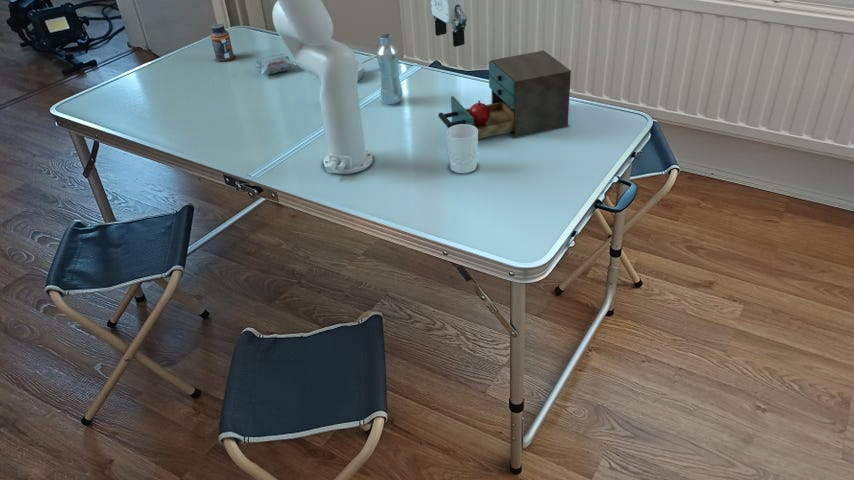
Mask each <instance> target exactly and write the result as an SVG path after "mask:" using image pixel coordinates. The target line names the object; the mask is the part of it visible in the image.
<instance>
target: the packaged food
mask: <svg viewBox="0 0 854 480" xmlns="http://www.w3.org/2000/svg"><path fill="white" fill-rule="evenodd" d="M296 66H298V64H297V63H296V62H295V61H293V60H291V59H290V57H289V56H288V55H286V54H284V53H276V54H271V55H267V56H263V57H261V58H258V59H257V60H256V62H255V65H254V69H257V68H258V70H260V71H261V72H260V75H261V76H262V75H267V76H270V75H275V74H279V73H283V72H287V71H289V70H292V69H293V68H295V67H296Z"/></svg>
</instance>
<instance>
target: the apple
mask: <svg viewBox="0 0 854 480" xmlns="http://www.w3.org/2000/svg"><path fill="white" fill-rule="evenodd" d="M486 105H487V104H485V103H483V102H481V100H480V99H478V102H476V103H474V104H472V105H471V107H469V108H470V110H469V114H470V115H471V116H472V117H473V118H474V125H476V126H483V125H485V123H486V122H487V121H488V119H489V117H490V110H489V108H488V107H487V106H486Z"/></svg>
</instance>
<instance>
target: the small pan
mask: <svg viewBox="0 0 854 480" xmlns="http://www.w3.org/2000/svg"><path fill="white" fill-rule="evenodd" d="M373 59H377V54H373V55H371V56H369V57H367V58H365V59H363V60H362V59H361V60H360V61H358V81H360V80H361V79H362V76H363V74H364V69H365V68H364V64H365V63H367V62H370V61H372V60H373Z"/></svg>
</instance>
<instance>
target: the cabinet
mask: <svg viewBox="0 0 854 480" xmlns="http://www.w3.org/2000/svg"><path fill="white" fill-rule="evenodd" d="M488 74H489V75H488V87H489V89H490V90H491V104H493V103H498V102H503V101H504V102H505V103H506V104H507V105H508V106H509V107H510V108H511V109H512V110H513V111H514V131H511V132H509V133H510V135H512V137H514V138H520V137H524V136H529V135H535V134H538V133H543V132H547V131H552V130H558V129H561V128H566V127H569V111H570V110H569V109H570V96H571V80H572V79H571V78H572V77H571V76H572V70H571V69H570V68H568V67H567V66H566V65H564V64H563V63H562V62H560V60H557V59H556V58H554V57H553V56H552V55H551V54H549V53H548V52H546V50H538V51H534V52H528V53H524V54H516V55H512V56H507V57H501V58H500V57H499V58H496V59H491V60H489V61H488Z"/></svg>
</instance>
